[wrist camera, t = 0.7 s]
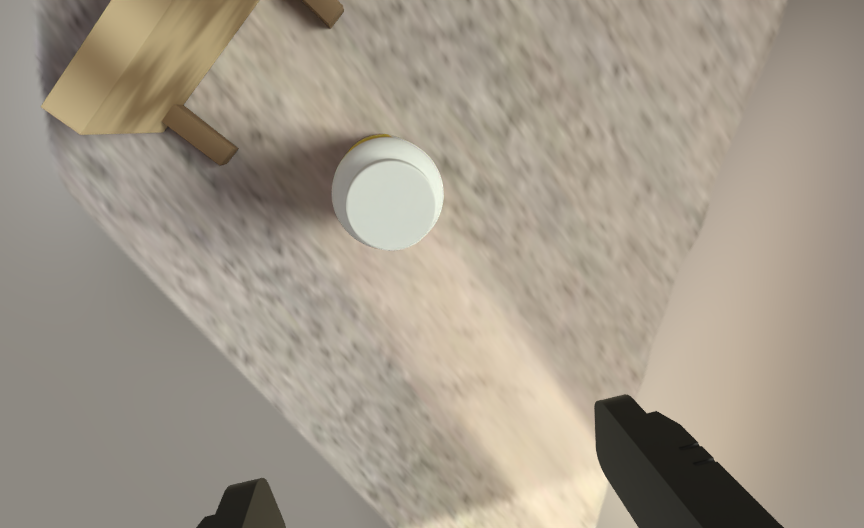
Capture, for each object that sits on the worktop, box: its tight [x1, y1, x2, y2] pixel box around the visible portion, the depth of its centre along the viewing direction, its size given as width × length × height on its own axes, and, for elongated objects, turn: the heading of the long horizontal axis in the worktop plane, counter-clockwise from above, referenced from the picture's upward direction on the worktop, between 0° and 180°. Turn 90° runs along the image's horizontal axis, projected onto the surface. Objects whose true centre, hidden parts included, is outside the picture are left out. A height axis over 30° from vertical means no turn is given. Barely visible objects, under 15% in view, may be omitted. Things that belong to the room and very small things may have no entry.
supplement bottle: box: [332, 134, 444, 251], centre depth 27 cm, size 7×7×13 cm
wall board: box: [41, 0, 344, 166], centre depth 24 cm, size 20×6×9 cm, turn 138°
